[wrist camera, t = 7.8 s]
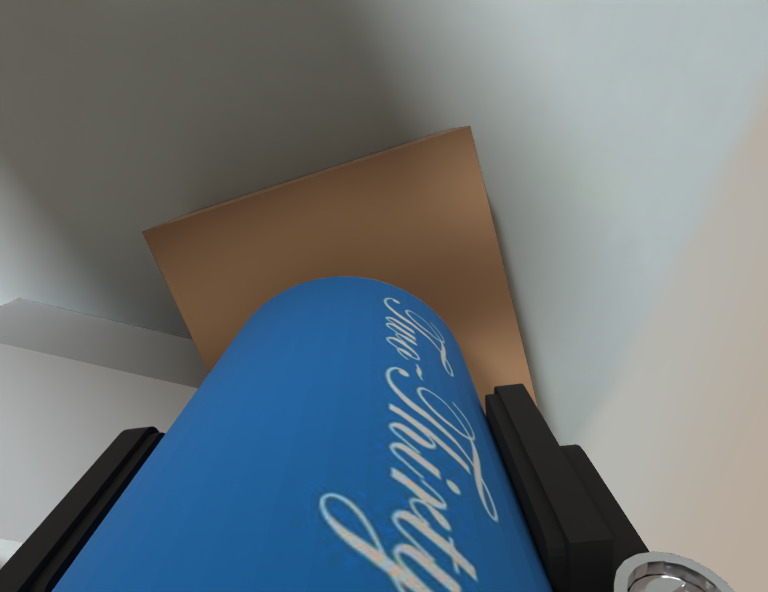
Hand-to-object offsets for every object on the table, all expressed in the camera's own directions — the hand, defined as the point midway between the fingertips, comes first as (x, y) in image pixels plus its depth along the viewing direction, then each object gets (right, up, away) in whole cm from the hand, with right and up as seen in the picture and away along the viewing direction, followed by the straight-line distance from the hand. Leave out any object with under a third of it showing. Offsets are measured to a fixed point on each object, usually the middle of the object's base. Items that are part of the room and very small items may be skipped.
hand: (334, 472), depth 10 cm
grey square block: (-11, -2, +13) cm, 17 cm away
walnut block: (0, +3, +11) cm, 11 cm away
